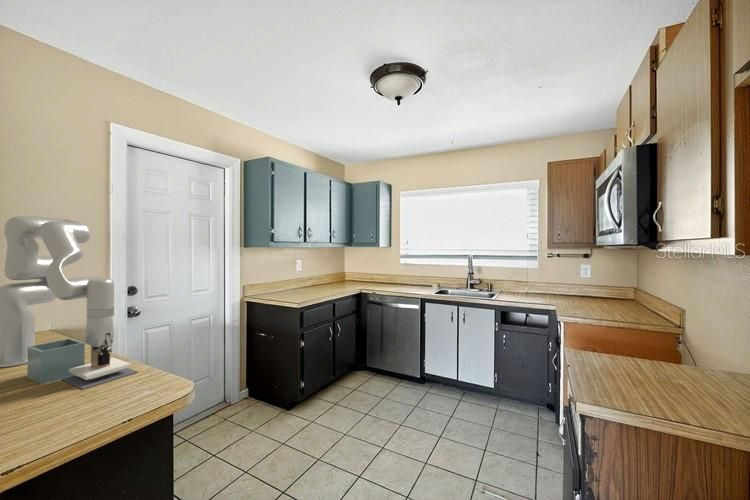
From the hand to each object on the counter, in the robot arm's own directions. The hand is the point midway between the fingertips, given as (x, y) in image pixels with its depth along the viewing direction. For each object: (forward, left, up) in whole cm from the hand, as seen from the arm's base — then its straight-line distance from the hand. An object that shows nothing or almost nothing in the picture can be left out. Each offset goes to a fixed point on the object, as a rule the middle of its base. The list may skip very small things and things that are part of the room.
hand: (100, 362), depth 114 cm
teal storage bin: (-15, -7, -5) cm, 17 cm away
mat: (0, 0, -5) cm, 5 cm away
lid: (0, 0, -2) cm, 2 cm away
